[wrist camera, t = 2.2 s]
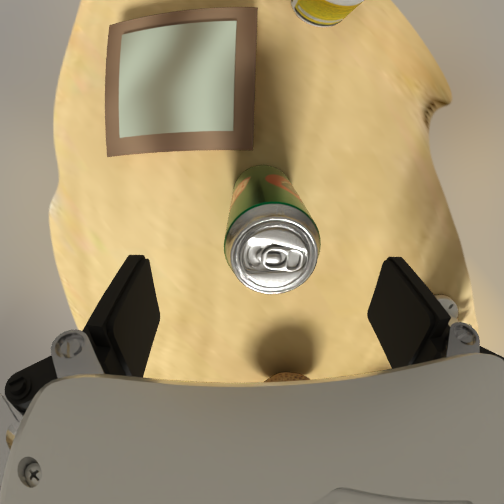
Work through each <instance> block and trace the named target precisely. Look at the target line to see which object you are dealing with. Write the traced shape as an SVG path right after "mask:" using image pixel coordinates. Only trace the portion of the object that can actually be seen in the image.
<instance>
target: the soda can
mask: <svg viewBox="0 0 504 504" xmlns="http://www.w3.org/2000/svg"><path fill="white" fill-rule="evenodd" d="M320 245H321V244H320V235H319V231H318V228H317V226H316V224H315V222H314V221H313V219H312V217H311V216H310V214H309V212H308V210H307V209H306V207H305V205H304V204H303V202H302V200H301V199H300V197H299V196H298V194H297V192H296V191H295V189H294V187H293V186H292V184H291V183H290V181H289V179H288V178H287V177H286V175H285V174H284V173H283V172H282V171H280V170H279V169H277V168H275V167H272V166H268V165H258V166H254V167H251V168H249V169H247V170H246V171H244V172H243V173H242V174H241V175H240V176H239V178H238V179H237V181H236V183H235V186H234V190H233V195H232V201H231V206H230V212H229V217H228V223H227V229H226V234H225V241H224V253H225V257H226V260H227V263H228V265H229V266H230V268H231V270H232V271H233V272H234V273H235V275H236V277H237V278H238V279H239V280H240V281H241V283H243V284H244V285H245V286H246V287H248V288H250V289H252V290H254V291H256V292H260V293H265V294H280V293H285V292H288V291H291V290H293V289H295V288H297V287H299V286H300V285H301V284H303V283H304V282H305V281H306V280H307V279H308V278H309V277H310V275H311V274H312V273H313V271H314V269H315V266H316V263H317V259H318V256H319V252H320Z"/></svg>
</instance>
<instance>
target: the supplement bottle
mask: <svg viewBox="0 0 504 504" xmlns="http://www.w3.org/2000/svg"><path fill="white" fill-rule="evenodd" d="M363 1H364V0H291V5H292V8H293V10H294V12H295V13H296V15H297V16H298V17H299V18H300V19H301V20H303V21H304V22H306V23H308V24H310V25H313V26H316V27H330V26H334V25H336V24H338V23H339V22H341V21H342V20H343V19H344V18H345V17H346V16H347V15H348V14H349V13H350V12H352V11H353V10H354V9H355V8H356V7H357V6H358V5H360V4H361V3H362V2H363Z"/></svg>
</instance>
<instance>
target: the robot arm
mask: <svg viewBox="0 0 504 504" xmlns="http://www.w3.org/2000/svg"><path fill="white" fill-rule="evenodd" d="M367 315H368V319H369V321H370V323H371V325H372V327H373V329H374V331H375V333H376V335H377V338H378V340H379V342H380V344H381V346H382V348H383V350H384V352H385V354H386V356H387V359H388V361H389V363H390V365H391V367H392V369H388V370H383V371H377V372H371V373H364V374H357V375H350V376H342V377H334V378H324V379H313V380H301V381H285V382H257V383H220V382H194V381H178V380H164V379H152V378H143V375H144V371H145V368H146V364H147V361H148V357H149V354H150V351H151V347H152V344H153V341H154V337H155V334H156V331H157V328H158V324H159V321H160V311H159V307H158V302H157V297H156V293H155V288H154V283H153V278H152V272H151V267H150V262H149V259H145V257H144V255H129V256H128V257H127V259H126V260H125V262H124V263H123V265H122V266H121V268H120V269H119V271H118V273H117V274H116V276H115V277H114V279H113V280H112V282H111V284H110V285H109V287H108V288H107V290H106V291H105V293H104V295H103V296H102V298H101V300H100V301H99V303H98V305H97V306H96V308H95V310H94V311H93V313H92V315H91V317H90V318H89V320H88V322H87V324H86V326H85V327H84V329H83V331H80V330H69V331H66V332H63V333H62V334H60V335H59V336H58V337H57V338H56V339H55V340H54V341H53V343H52V346H51V354H52V356H49V357H48V358H45V359H44V360H41V361H39V362H37V363H35V364H33V365H31V366H29V367H27V368H25V369H23V370H21V371H19V372H17V373H15V374H14V375H12V376H11V377H10V378H9V379H8V381H7V383H6V386H5V395H4V396H2V395H1V394H0V504H504V358H503V357H502V356H499V355H497V354H495V353H493V352H491V351H489V350H487V349H485V348H483V347H481V346H479V345H480V344H479V343H480V340H479V336H478V334H477V332H476V331H475V330H474V329H473V328H472V326H471V325H470V324H466V323H462V322H459V321H458V319H457V318H458V308H457V305H456V303H455V302H454V301H453V300H452V299H451V298H450V297H448V296H445V295H435V296H434V295H433V293H432V292H431V291H430V290H429V288H428V287H427V286H426V285H425V284H424V282H423V281H422V280H421V279H420V278H419V276H418V275H417V274H416V273H415V272H414V271H413V269H412V268H411V267H410V266H409V265H408V264H407V263H406V262H405V260H404V259H403V258H402V257H388V258H387V260H385V261H384V262H383V265H382V268H381V271H380V275H379V278H378V281H377V285H376V288H375V291H374V294H373V297H372V300H371V303H370V306H369V309H368V313H367Z"/></svg>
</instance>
